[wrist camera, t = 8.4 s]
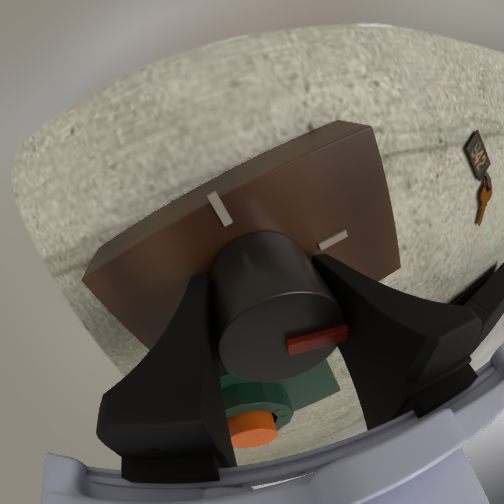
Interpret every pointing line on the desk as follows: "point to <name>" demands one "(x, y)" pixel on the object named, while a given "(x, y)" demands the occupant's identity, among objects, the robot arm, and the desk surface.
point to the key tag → (480, 169)
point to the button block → (277, 393)
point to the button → (252, 429)
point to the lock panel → (254, 223)
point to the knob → (271, 309)
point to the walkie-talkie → (485, 303)
